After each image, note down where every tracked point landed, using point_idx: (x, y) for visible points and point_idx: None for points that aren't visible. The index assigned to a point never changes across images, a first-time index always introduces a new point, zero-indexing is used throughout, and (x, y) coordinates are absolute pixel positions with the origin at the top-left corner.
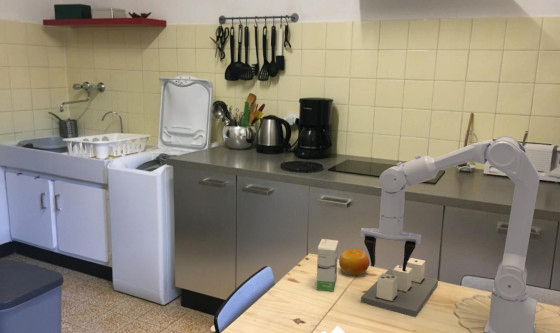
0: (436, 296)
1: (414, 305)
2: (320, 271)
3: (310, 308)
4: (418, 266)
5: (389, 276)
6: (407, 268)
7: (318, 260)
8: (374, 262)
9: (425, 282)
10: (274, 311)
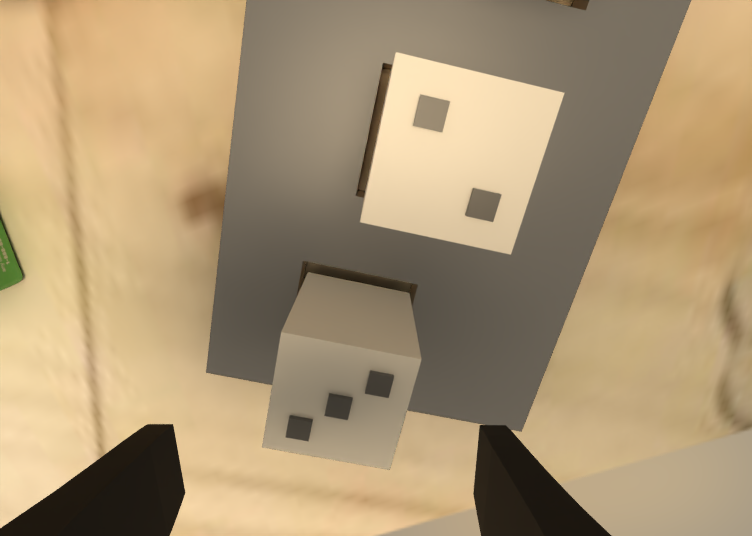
0: (667, 102)
1: (515, 371)
2: None
3: (19, 486)
4: None
5: (349, 383)
6: (509, 119)
7: None
8: (165, 498)
9: None
10: None
